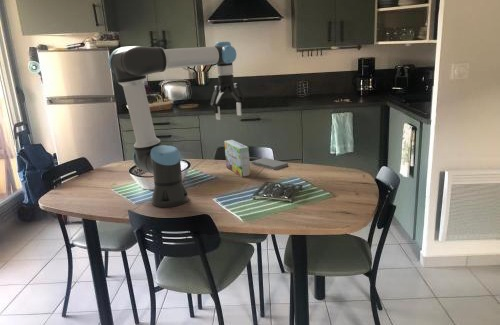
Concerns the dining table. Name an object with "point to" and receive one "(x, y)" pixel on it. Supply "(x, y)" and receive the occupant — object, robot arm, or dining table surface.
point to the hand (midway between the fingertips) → (229, 117)
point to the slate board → (269, 163)
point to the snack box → (237, 158)
